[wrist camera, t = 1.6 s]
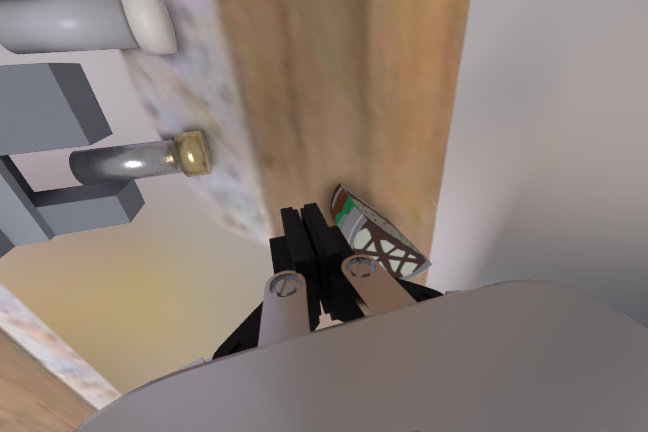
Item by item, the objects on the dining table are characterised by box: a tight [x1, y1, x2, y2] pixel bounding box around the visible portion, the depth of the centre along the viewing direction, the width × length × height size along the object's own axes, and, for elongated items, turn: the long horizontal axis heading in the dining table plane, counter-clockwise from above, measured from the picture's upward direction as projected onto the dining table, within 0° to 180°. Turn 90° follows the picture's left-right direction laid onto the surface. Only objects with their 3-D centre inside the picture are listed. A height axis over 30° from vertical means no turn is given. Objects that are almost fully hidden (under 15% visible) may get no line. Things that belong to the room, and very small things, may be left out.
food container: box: [330, 184, 432, 281], centre depth 31 cm, size 12×6×10 cm, turn 51°
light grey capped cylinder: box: [0, 0, 177, 55], centre depth 19 cm, size 4×10×4 cm, turn 94°
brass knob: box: [69, 131, 212, 186], centre depth 24 cm, size 4×10×4 cm, turn 94°
